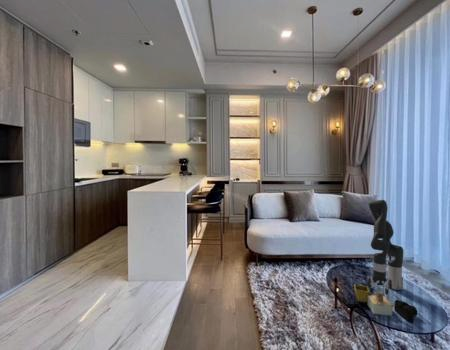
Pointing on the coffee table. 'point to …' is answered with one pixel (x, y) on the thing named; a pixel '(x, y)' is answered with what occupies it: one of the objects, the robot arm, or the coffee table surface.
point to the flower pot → (361, 293)
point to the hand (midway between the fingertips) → (379, 293)
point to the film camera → (405, 310)
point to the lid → (379, 299)
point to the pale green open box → (380, 309)
